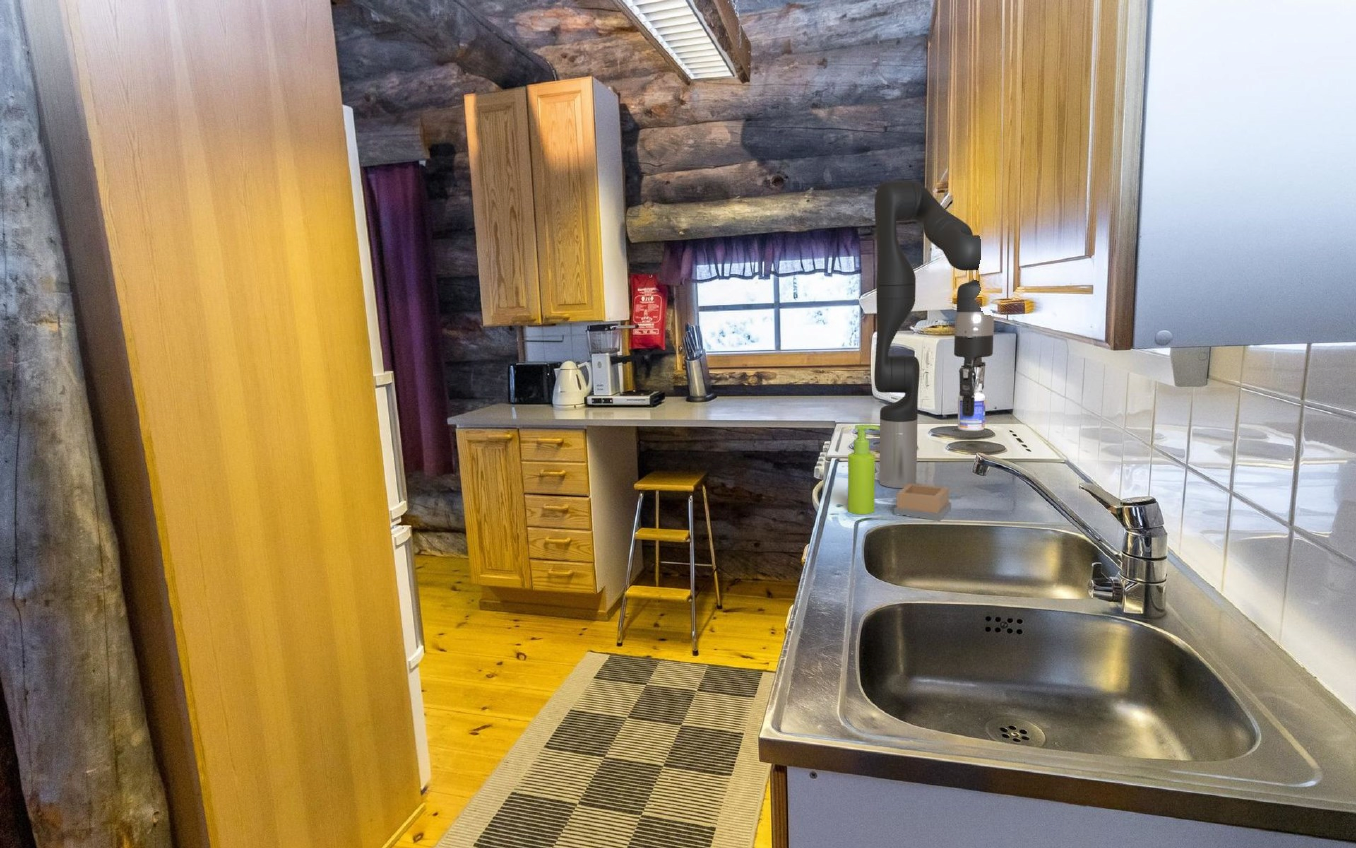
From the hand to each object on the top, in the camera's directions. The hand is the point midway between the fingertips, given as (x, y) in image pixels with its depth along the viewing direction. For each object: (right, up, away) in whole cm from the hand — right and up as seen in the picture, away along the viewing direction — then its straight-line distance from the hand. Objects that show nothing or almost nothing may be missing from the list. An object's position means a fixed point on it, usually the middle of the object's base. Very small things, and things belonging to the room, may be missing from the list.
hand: (971, 412), depth 149 cm
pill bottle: (0, -4, +1) cm, 4 cm away
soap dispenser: (-20, -23, +12) cm, 32 cm away
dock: (-7, -22, +9) cm, 25 cm away
